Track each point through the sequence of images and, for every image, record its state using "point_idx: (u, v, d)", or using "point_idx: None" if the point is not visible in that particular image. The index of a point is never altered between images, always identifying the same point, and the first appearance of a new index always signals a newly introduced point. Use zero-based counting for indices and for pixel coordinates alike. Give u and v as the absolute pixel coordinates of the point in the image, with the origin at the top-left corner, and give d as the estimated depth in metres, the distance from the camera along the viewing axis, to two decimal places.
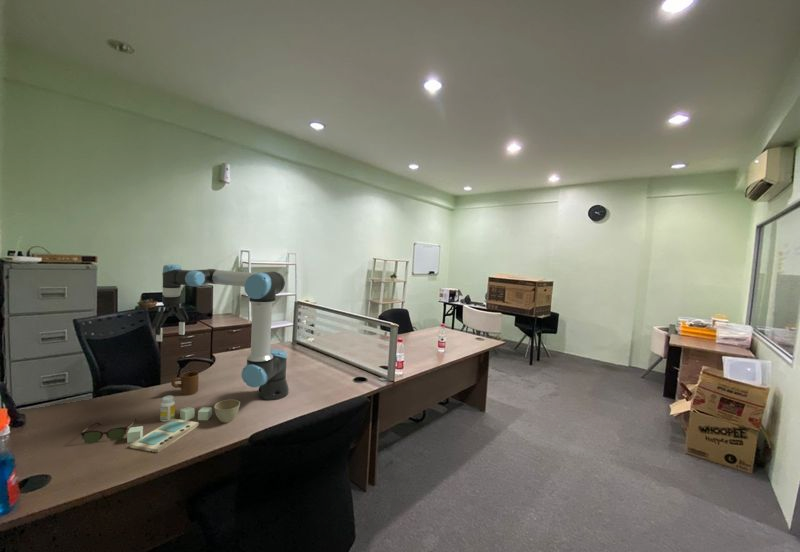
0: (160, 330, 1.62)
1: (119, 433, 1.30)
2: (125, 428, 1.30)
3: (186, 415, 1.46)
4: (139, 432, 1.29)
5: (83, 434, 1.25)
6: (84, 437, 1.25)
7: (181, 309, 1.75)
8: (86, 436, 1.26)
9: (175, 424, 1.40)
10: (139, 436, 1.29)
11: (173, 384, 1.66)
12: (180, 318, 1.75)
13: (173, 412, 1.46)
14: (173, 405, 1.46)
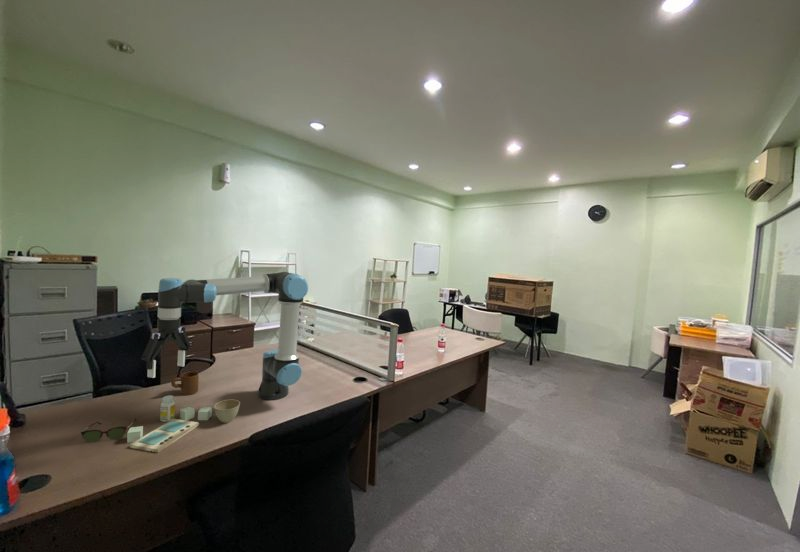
0: (153, 363, 1.25)
1: (119, 432, 1.30)
2: (125, 427, 1.31)
3: (186, 415, 1.46)
4: (139, 432, 1.29)
5: (83, 433, 1.26)
6: (84, 436, 1.26)
7: (181, 334, 1.38)
8: (87, 435, 1.26)
9: (175, 424, 1.40)
10: (139, 436, 1.29)
11: (173, 384, 1.66)
12: (179, 346, 1.38)
13: (173, 412, 1.46)
14: (173, 405, 1.46)
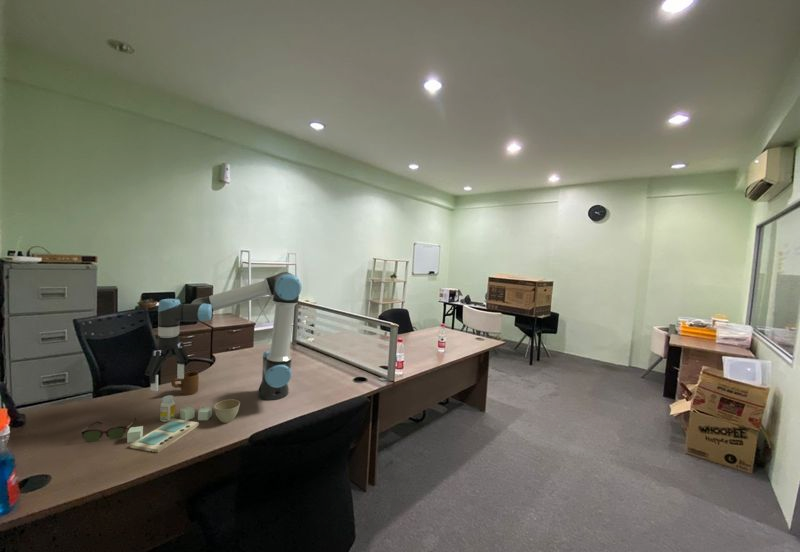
0: (155, 378, 1.37)
1: (119, 432, 1.30)
2: (125, 427, 1.31)
3: (186, 415, 1.46)
4: (139, 432, 1.29)
5: (83, 433, 1.26)
6: (84, 436, 1.26)
7: (180, 349, 1.50)
8: (87, 435, 1.26)
9: (175, 424, 1.40)
10: (139, 436, 1.29)
11: (173, 384, 1.66)
12: (179, 360, 1.50)
13: (173, 412, 1.46)
14: (173, 405, 1.46)
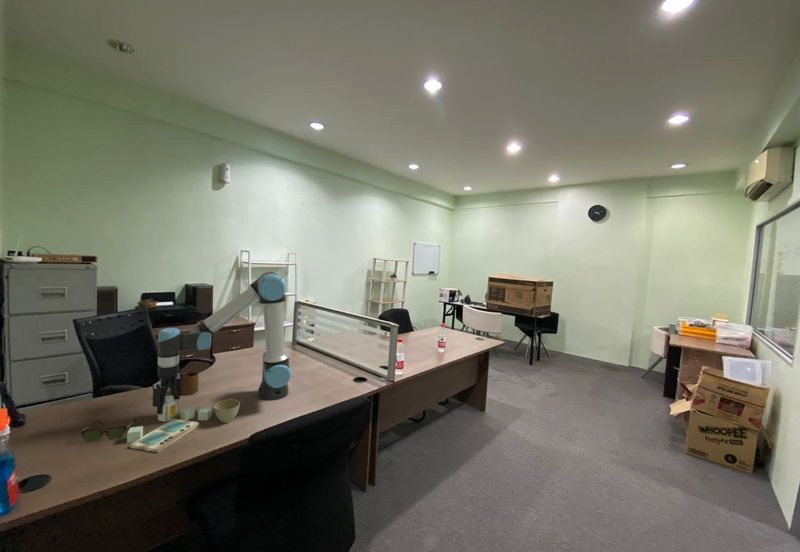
0: (163, 408, 1.42)
1: (119, 431, 1.30)
2: (125, 427, 1.31)
3: (186, 415, 1.46)
4: (139, 432, 1.29)
5: (83, 433, 1.26)
6: (84, 436, 1.26)
7: (177, 380, 1.50)
8: (87, 434, 1.27)
9: (175, 424, 1.40)
10: (139, 436, 1.29)
11: None
12: (173, 393, 1.48)
13: (173, 412, 1.46)
14: (173, 405, 1.46)
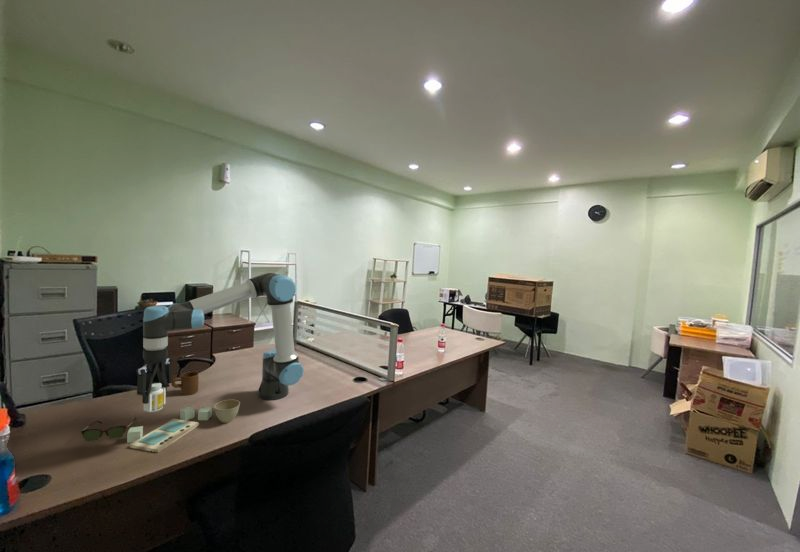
0: (149, 397, 1.25)
1: (119, 431, 1.31)
2: (125, 427, 1.31)
3: (186, 415, 1.46)
4: (139, 432, 1.29)
5: (83, 432, 1.26)
6: (84, 435, 1.27)
7: (166, 366, 1.33)
8: (87, 434, 1.27)
9: (175, 424, 1.40)
10: (139, 436, 1.29)
11: (173, 384, 1.66)
12: (161, 380, 1.31)
13: (161, 401, 1.28)
14: (161, 393, 1.28)
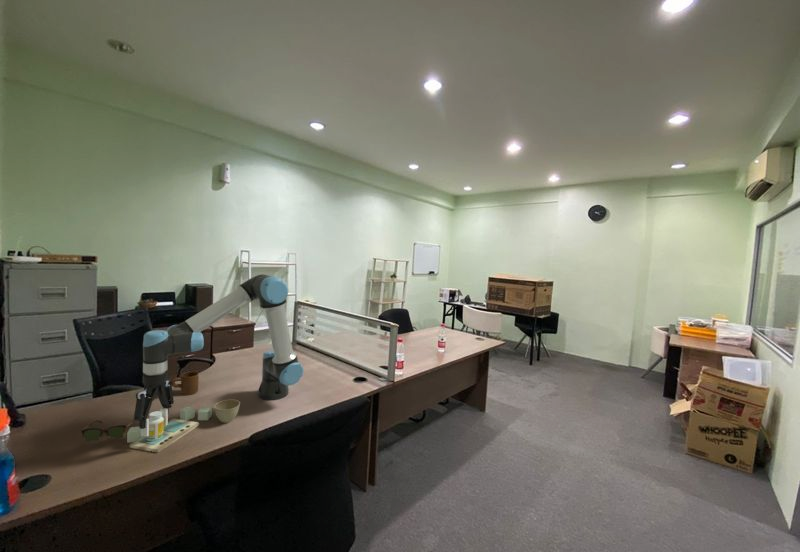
0: (146, 422, 1.24)
1: (119, 431, 1.31)
2: (124, 426, 1.31)
3: (186, 415, 1.46)
4: (139, 432, 1.29)
5: (83, 432, 1.27)
6: (84, 435, 1.27)
7: (167, 388, 1.34)
8: (87, 433, 1.27)
9: (175, 424, 1.40)
10: (139, 436, 1.29)
11: (173, 384, 1.66)
12: (163, 402, 1.32)
13: (161, 430, 1.30)
14: (161, 422, 1.29)
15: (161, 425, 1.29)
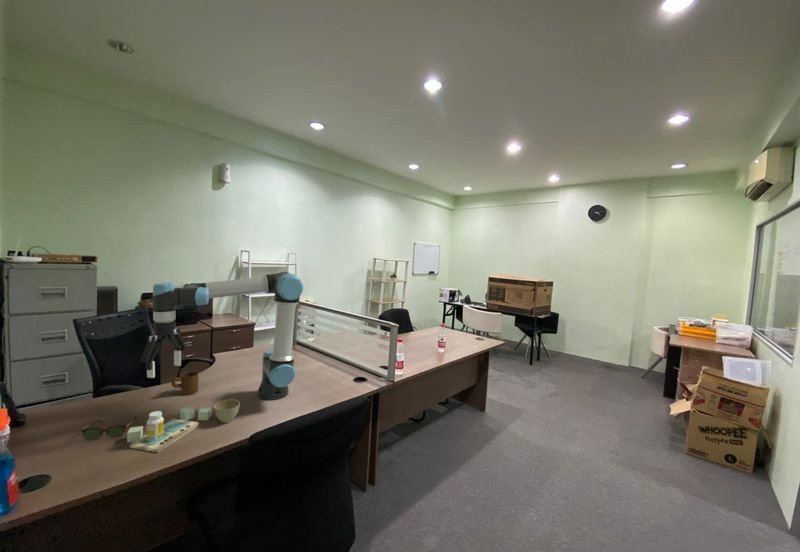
0: (152, 364, 1.32)
1: (119, 430, 1.31)
2: (124, 426, 1.32)
3: (186, 415, 1.46)
4: (139, 432, 1.29)
5: (83, 431, 1.27)
6: (84, 434, 1.27)
7: (176, 335, 1.45)
8: (87, 433, 1.27)
9: (175, 424, 1.40)
10: (139, 436, 1.29)
11: (173, 384, 1.66)
12: (175, 346, 1.45)
13: (161, 430, 1.30)
14: (161, 422, 1.29)
15: (161, 425, 1.29)
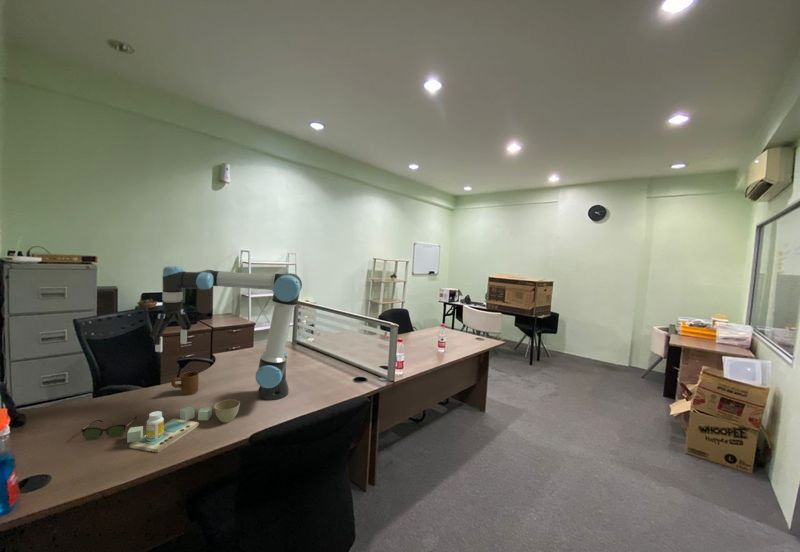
0: (160, 339, 1.45)
1: (119, 430, 1.31)
2: (124, 426, 1.32)
3: (186, 415, 1.46)
4: (139, 432, 1.29)
5: (83, 431, 1.27)
6: (84, 434, 1.28)
7: (183, 315, 1.58)
8: (87, 433, 1.28)
9: (175, 424, 1.40)
10: (139, 436, 1.29)
11: (173, 384, 1.66)
12: (182, 325, 1.58)
13: (161, 430, 1.30)
14: (161, 422, 1.29)
15: (161, 425, 1.29)
